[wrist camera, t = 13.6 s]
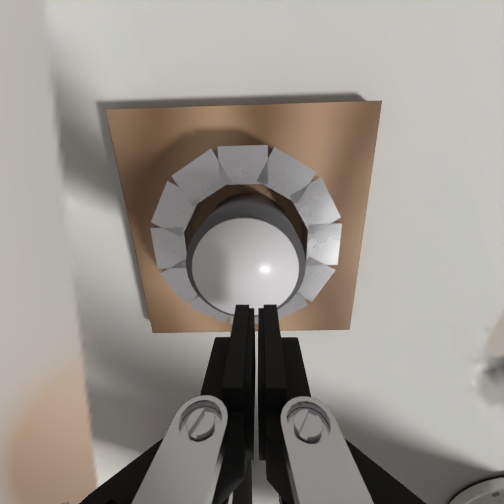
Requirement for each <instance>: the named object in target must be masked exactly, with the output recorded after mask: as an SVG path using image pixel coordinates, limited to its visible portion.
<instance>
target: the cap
mask: <svg viewBox="0 0 504 504" xmlns="http://www.w3.org/2000/svg"><path fill="white" fill-rule="evenodd" d="M305 269H306V259H305V253H304V249H303V246H302V244H301V242H300V240H299V238H298V236H297V234H296V232H295V230H294V228H293V226H292V224H291V222H290V220H289V218H288V216H287V214H286V213H285V211H284V210H283V208H282V207H281V206H280V205H279V204H278V203H276V202H275V201H274V200H272V199H270V198H268V197H266V196H264V195H261V194H256V193H241V194H236V195H233V196H231V197H229V198H227V199H225V200H223V201H222V202H221V203H220V204H218V205H217V206H216V208H215V209H214V210H213V211H212V213H211V214H210V215H209V216H208V218H207V219H206V220H205V221H204V223H203V224H202V225H201V226H200V228H199V229H198V230H197V231H196V233H195V234H194V236H193V237H192V239H191V241H190V244H189V246H188V250H187V254H186V270H187V274H188V278H189V281H190V283H191V285H192V287H193V289H194V290H195V292H196V293H197V294H198V296H199V297H200V298H201V299H202V300H203V301H204V302H205V303H207V304H208V305H209V306H211V307H212V308H214V309H216V310H218V311H219V312H222V313H224V314H227V315H231V316H234V313H235V307H236V305H249V308H254V317H258V308H264V305H267V304H276V305H277V310H278V309H280V308H281V307H283V306H284V305H285V304H287V303H288V302H289V301H290V300H291V299H292V298H293V297H294V296H295V294H296V293H297V291H298V290H299V288H300V286H301V284H302V282H303V279H304V275H305Z"/></svg>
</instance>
